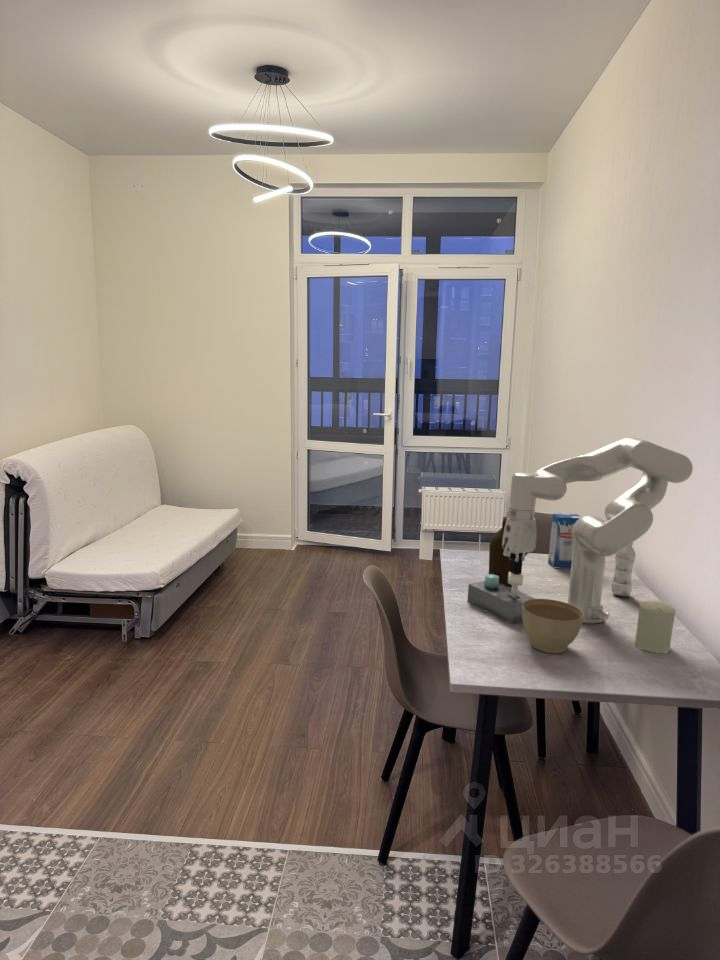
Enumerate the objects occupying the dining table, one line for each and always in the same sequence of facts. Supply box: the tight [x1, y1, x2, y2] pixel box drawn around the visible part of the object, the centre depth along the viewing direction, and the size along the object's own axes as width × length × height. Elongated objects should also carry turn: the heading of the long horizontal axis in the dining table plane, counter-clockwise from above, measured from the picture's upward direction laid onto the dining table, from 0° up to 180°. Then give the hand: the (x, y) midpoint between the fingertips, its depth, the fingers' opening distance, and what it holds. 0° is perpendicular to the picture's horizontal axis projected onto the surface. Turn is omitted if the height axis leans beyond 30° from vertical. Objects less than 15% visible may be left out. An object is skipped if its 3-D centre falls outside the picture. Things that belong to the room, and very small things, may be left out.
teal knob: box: [484, 573, 499, 589], centre depth 205 cm, size 4×4×9 cm
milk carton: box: [547, 513, 582, 569], centre depth 249 cm, size 10×6×20 cm, turn 94°
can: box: [634, 600, 677, 654], centre depth 178 cm, size 9×9×12 cm
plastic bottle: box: [610, 542, 637, 597], centre depth 218 cm, size 6×7×20 cm
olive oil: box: [488, 515, 515, 588], centre depth 220 cm, size 11×11×25 cm
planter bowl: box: [522, 598, 584, 654], centre depth 175 cm, size 16×16×11 cm
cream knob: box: [508, 572, 524, 599], centre depth 196 cm, size 4×4×9 cm
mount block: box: [466, 580, 536, 625], centre depth 201 cm, size 20×10×6 cm, turn 32°
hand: (515, 573), depth 195 cm, fingers closed
